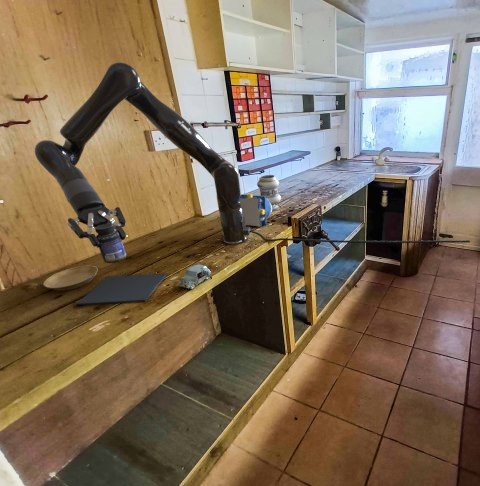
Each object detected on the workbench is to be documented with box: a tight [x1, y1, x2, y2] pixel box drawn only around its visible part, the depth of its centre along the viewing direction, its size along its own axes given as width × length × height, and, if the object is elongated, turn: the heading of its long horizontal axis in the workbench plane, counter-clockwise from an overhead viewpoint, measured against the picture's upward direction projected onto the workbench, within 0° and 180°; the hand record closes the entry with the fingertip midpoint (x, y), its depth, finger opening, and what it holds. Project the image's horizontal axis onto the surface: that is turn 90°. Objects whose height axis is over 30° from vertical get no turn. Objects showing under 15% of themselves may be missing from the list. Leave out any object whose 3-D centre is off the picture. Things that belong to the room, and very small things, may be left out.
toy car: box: [177, 263, 212, 290], centre depth 102 cm, size 6×10×5 cm, turn 155°
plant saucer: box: [42, 265, 99, 292], centre depth 105 cm, size 15×15×3 cm
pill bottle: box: [94, 224, 128, 264], centre depth 94 cm, size 6×6×11 cm
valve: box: [240, 193, 273, 228], centre depth 153 cm, size 13×15×15 cm
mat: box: [76, 273, 168, 306], centre depth 101 cm, size 20×16×1 cm
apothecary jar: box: [256, 174, 282, 212], centre depth 171 cm, size 12×12×18 cm
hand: (111, 242), depth 93 cm, fingers closed on pill bottle, 6 cm apart
